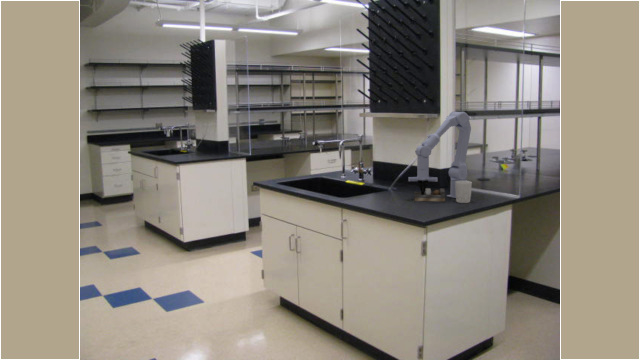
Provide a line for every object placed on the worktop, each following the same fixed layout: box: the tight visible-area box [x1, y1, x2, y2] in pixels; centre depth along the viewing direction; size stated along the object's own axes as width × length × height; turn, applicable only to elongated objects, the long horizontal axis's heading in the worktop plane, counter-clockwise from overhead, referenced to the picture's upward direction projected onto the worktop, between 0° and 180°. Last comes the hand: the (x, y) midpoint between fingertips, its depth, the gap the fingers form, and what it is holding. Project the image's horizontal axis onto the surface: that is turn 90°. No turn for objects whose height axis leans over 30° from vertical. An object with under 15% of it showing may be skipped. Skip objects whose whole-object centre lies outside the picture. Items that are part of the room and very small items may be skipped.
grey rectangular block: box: [425, 187, 432, 195], centre depth 261 cm, size 2×6×3 cm, turn 169°
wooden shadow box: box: [414, 187, 446, 202], centre depth 261 cm, size 15×9×5 cm, turn 80°
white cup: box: [455, 180, 473, 204], centre depth 253 cm, size 8×8×10 cm
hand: (422, 195), depth 261 cm, fingers closed
